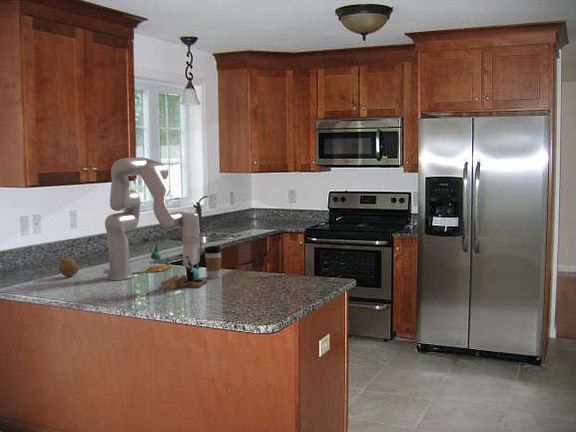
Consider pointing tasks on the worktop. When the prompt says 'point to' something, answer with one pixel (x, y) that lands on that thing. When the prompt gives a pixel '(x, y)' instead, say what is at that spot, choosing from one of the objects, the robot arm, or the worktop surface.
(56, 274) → the worktop surface
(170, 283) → the rail
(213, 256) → the coffee cup
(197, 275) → the ball
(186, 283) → the tray
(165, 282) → the rail
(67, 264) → the natural sponge
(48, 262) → the worktop surface
